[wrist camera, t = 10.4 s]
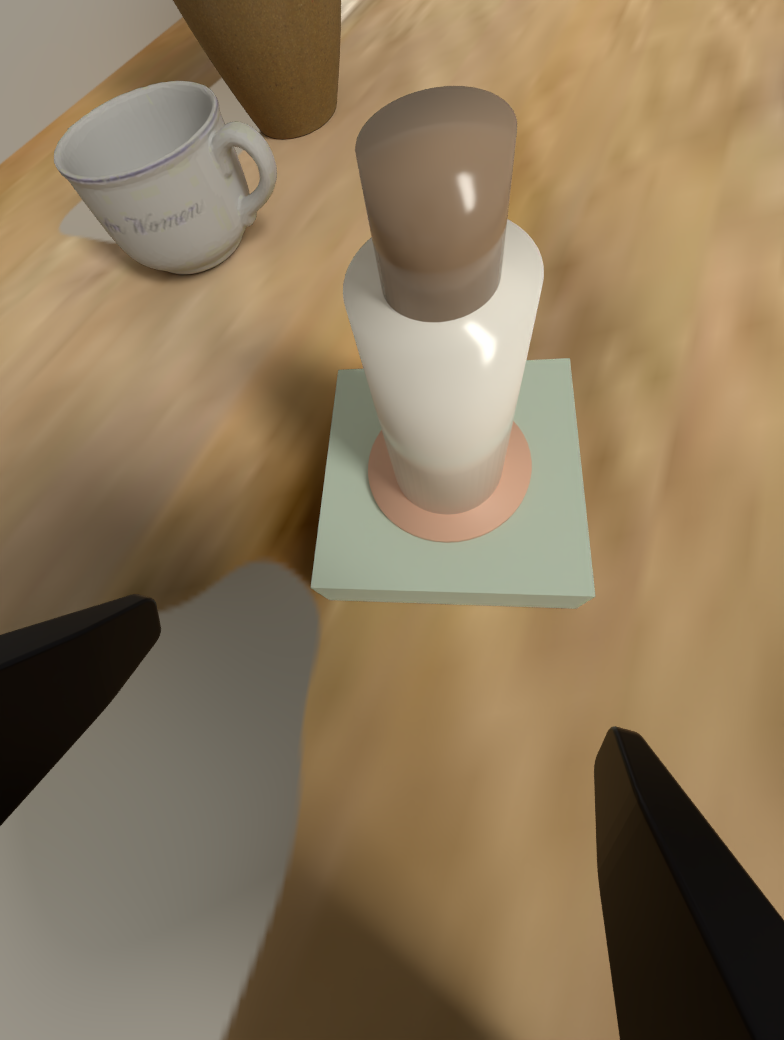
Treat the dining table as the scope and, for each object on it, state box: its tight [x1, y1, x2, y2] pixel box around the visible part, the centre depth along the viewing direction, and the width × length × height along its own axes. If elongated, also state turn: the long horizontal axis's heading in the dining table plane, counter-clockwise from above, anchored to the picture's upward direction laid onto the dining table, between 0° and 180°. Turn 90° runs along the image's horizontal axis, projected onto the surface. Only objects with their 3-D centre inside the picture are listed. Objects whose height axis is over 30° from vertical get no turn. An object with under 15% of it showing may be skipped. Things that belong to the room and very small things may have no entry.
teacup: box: [54, 81, 277, 274], centre depth 30 cm, size 14×11×8 cm
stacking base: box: [311, 358, 595, 609], centre depth 22 cm, size 12×12×3 cm
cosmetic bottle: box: [343, 86, 544, 515], centre depth 14 cm, size 5×5×13 cm
